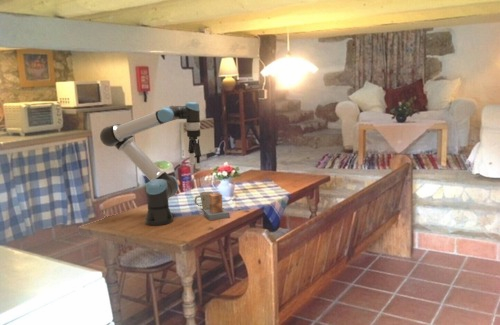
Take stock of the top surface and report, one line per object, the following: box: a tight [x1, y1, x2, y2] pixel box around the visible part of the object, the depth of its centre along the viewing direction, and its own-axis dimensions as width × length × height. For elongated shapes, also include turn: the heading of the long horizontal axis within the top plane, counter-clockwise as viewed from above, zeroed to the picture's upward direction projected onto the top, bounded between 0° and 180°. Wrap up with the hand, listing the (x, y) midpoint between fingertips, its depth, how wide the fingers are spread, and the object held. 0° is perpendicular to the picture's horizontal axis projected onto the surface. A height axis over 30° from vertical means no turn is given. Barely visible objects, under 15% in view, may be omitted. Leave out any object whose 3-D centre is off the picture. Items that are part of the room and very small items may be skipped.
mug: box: [194, 191, 214, 211], centre depth 291 cm, size 8×13×10 cm, turn 78°
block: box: [209, 192, 224, 213], centre depth 273 cm, size 6×6×10 cm
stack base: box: [203, 207, 231, 221], centre depth 274 cm, size 12×12×3 cm
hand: (195, 166), depth 273 cm, fingers open, 13 cm apart
